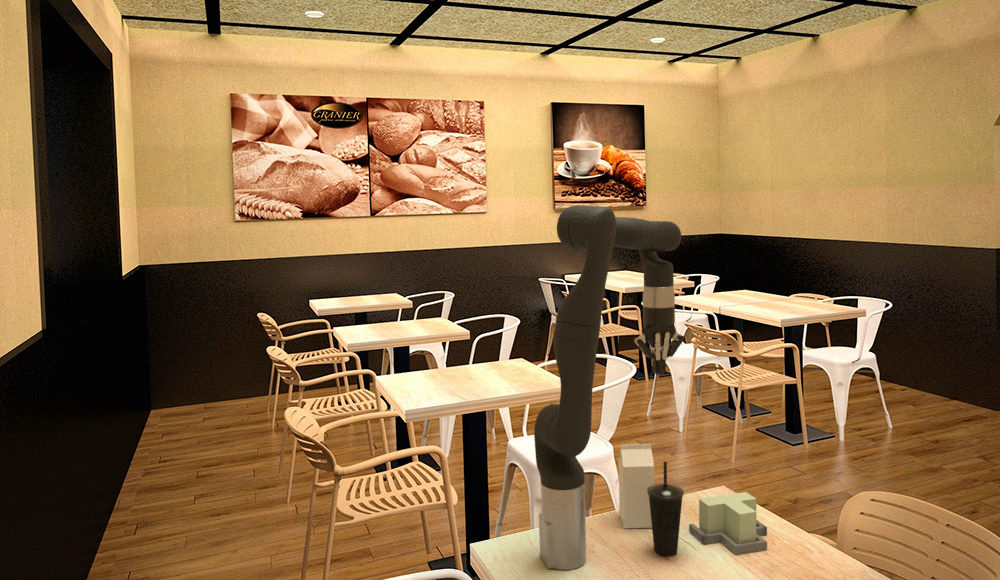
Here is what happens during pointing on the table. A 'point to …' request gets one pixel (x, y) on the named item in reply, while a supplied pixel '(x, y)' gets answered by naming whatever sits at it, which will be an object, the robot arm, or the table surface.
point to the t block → (729, 516)
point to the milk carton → (635, 485)
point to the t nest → (730, 544)
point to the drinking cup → (665, 516)
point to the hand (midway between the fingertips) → (659, 374)
